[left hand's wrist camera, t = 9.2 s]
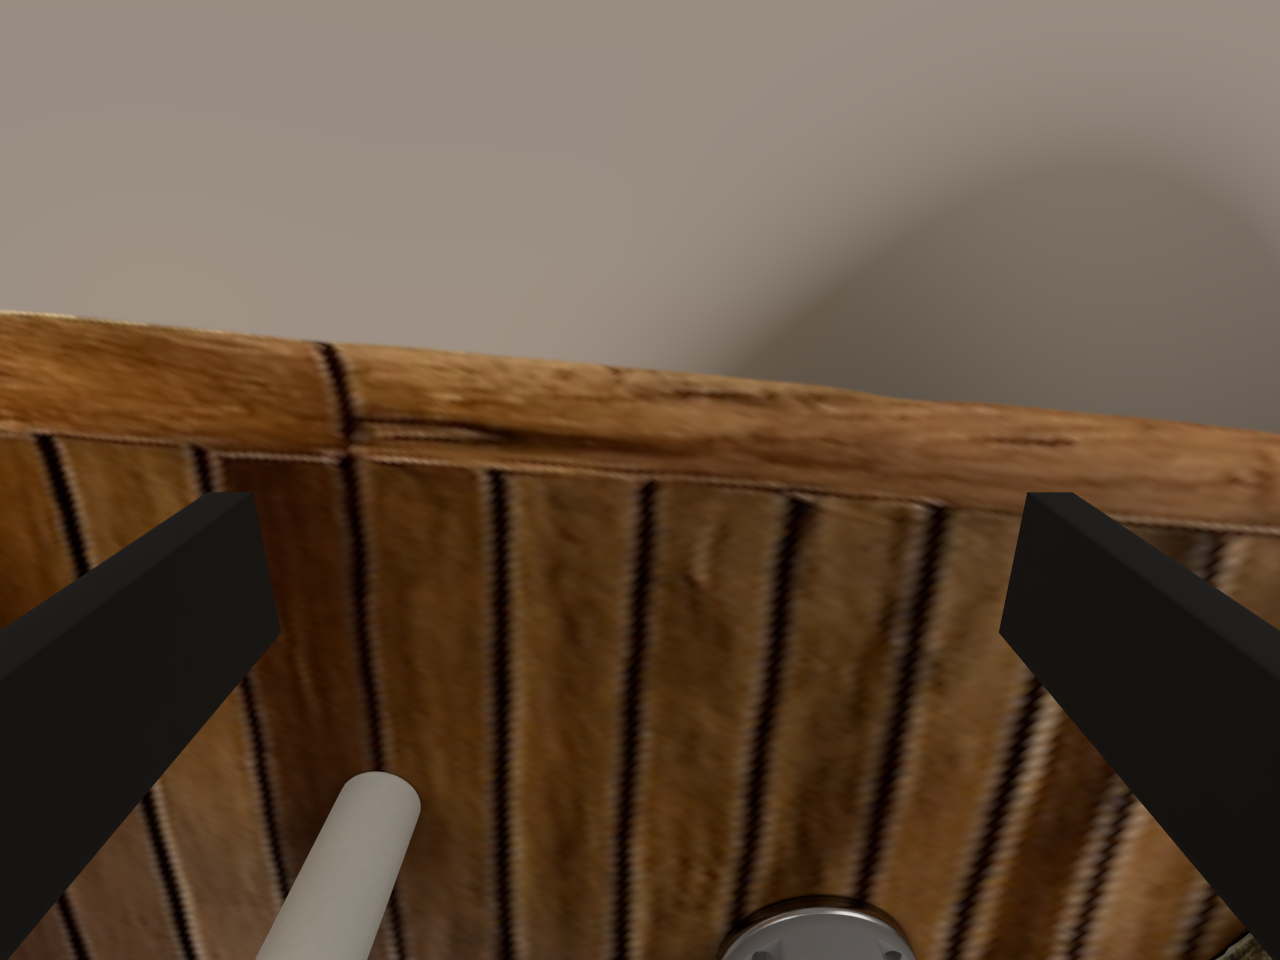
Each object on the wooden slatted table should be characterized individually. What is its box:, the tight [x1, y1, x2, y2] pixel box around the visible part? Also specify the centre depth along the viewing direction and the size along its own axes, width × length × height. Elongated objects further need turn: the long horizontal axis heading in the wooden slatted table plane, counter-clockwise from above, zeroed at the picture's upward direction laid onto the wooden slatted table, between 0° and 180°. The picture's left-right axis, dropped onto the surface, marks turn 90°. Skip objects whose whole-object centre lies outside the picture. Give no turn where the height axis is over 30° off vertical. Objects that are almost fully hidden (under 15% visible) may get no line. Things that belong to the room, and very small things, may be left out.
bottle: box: [255, 772, 421, 960], centre depth 41 cm, size 6×6×19 cm
